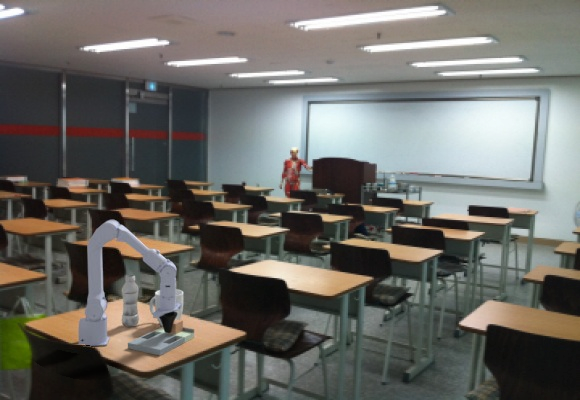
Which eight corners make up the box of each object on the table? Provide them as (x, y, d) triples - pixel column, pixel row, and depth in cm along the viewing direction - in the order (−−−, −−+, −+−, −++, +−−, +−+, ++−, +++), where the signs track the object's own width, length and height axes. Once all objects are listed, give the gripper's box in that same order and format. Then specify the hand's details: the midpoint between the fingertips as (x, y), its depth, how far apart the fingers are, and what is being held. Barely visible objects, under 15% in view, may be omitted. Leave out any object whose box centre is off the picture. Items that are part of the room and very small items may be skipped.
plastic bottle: (141, 323, 214) (141, 274, 212) (134, 329, 207) (135, 278, 205) (125, 322, 214) (125, 273, 212) (118, 328, 208) (118, 277, 206)
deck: (160, 355, 182) (160, 346, 181) (127, 348, 187) (127, 339, 187) (194, 337, 200) (194, 329, 200) (163, 331, 205) (163, 323, 205)
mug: (141, 324, 213) (141, 292, 211) (158, 317, 223) (159, 286, 221) (172, 330, 207) (172, 297, 205) (188, 322, 217) (189, 291, 215)
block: (175, 334, 197) (175, 323, 196) (165, 332, 199) (165, 321, 198) (182, 330, 201) (182, 320, 200) (172, 328, 203) (173, 318, 202)
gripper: (164, 302, 187) (164, 340, 188) (188, 292, 200) (188, 328, 201) (148, 299, 190) (148, 336, 191) (173, 290, 203) (172, 325, 204)
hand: (167, 332), depth 196 cm, fingers closed
